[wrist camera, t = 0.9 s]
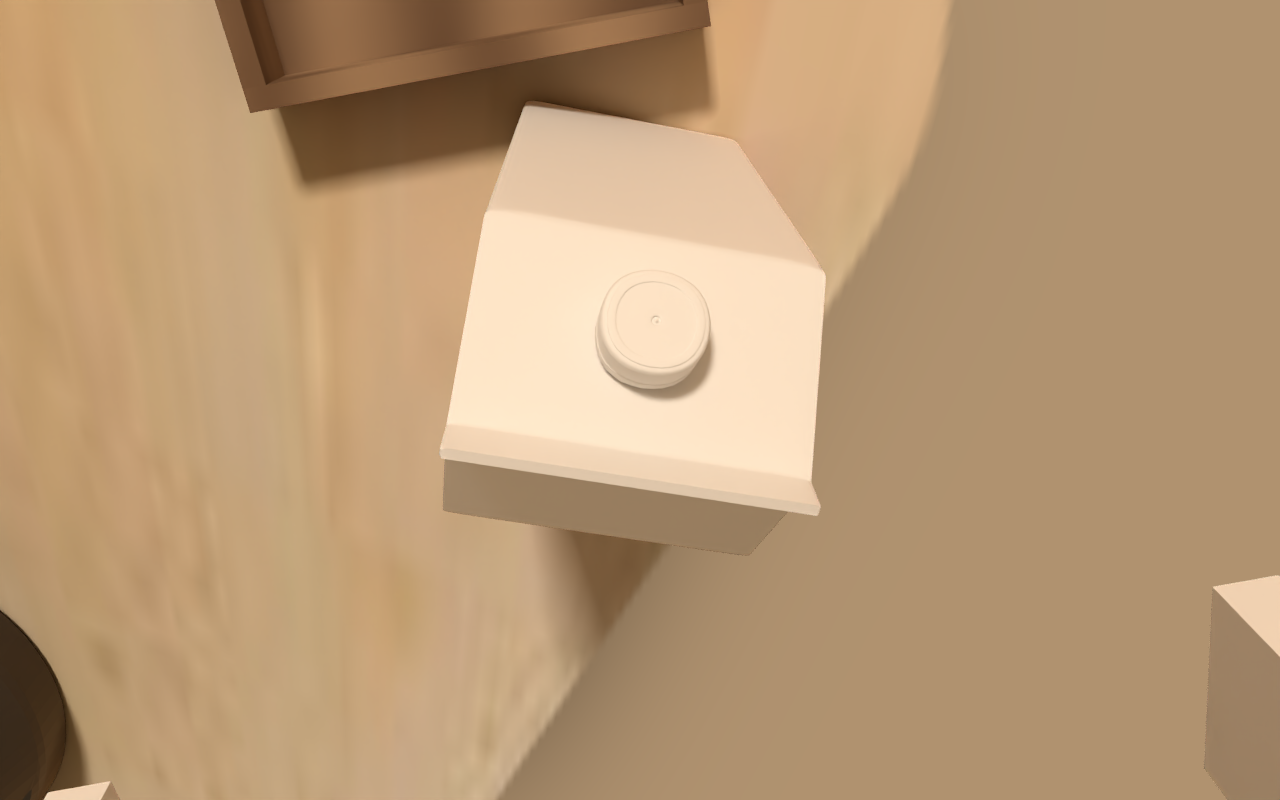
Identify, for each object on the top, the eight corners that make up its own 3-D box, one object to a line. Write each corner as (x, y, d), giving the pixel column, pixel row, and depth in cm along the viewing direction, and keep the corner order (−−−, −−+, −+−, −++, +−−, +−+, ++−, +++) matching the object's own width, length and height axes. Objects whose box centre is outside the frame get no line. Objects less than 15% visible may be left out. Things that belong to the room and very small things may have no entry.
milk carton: (692, 335, 39) (775, 665, 22) (495, 301, 38) (416, 616, 21) (737, 138, 36) (873, 335, 19) (526, 97, 35) (465, 263, 18)
